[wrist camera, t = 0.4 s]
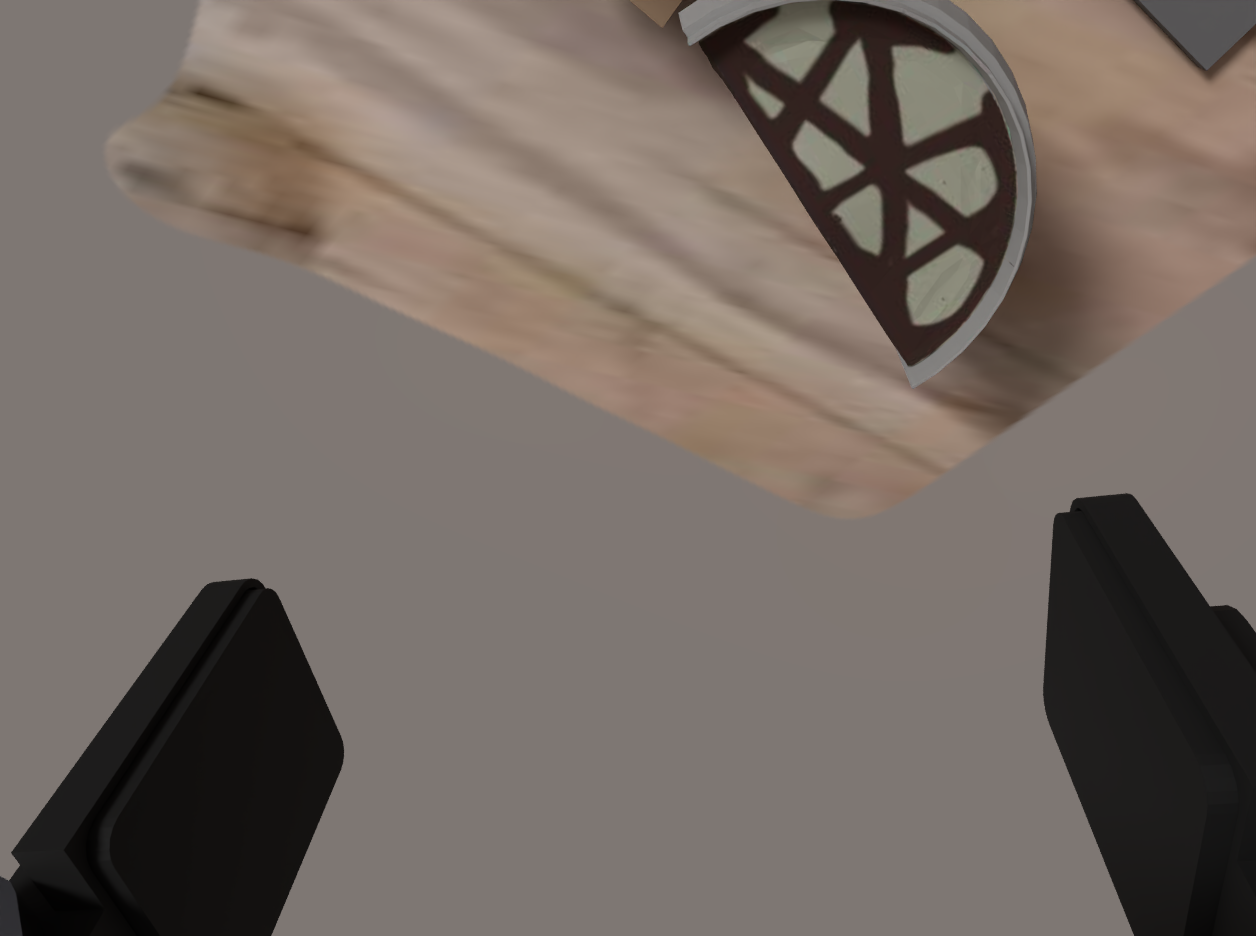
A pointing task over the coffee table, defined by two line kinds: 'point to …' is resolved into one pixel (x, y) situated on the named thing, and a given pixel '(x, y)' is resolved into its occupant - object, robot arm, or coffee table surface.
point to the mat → (1202, 25)
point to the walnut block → (657, 9)
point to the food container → (890, 150)
